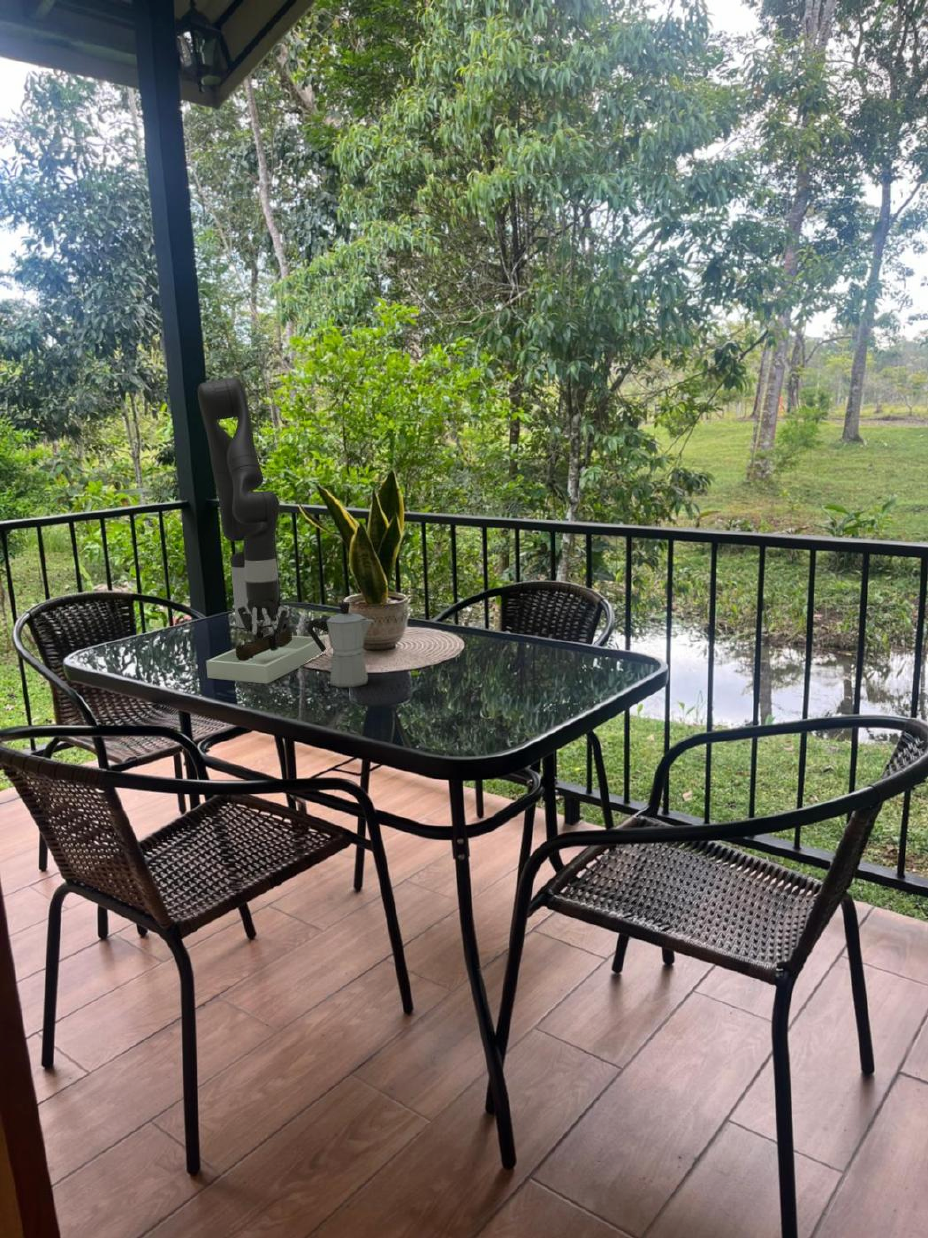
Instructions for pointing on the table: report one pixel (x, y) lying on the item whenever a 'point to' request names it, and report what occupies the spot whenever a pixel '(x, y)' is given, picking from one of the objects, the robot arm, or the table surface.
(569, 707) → the table surface
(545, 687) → the table surface
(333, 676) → the coffee maker
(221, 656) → the tray
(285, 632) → the dark brown log
